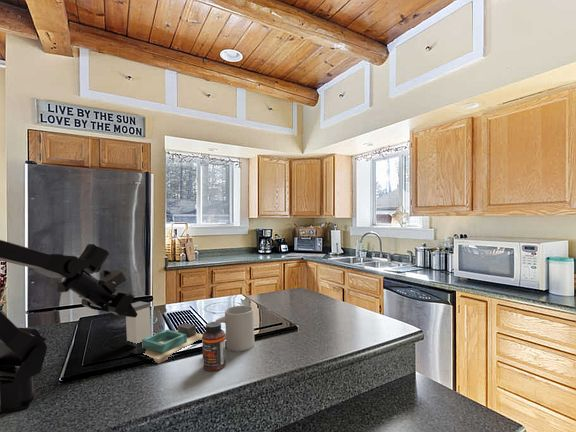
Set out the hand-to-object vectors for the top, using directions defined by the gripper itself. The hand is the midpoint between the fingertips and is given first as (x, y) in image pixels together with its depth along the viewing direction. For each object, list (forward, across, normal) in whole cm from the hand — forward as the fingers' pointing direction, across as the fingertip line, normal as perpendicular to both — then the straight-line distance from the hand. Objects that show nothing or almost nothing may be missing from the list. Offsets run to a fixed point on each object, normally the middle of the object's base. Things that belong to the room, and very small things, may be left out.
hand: (127, 313), depth 99 cm
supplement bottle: (+10, -33, +5) cm, 35 cm away
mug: (+18, -30, -3) cm, 35 cm away
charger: (+10, 0, +5) cm, 11 cm away
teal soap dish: (+12, -11, +3) cm, 17 cm away
